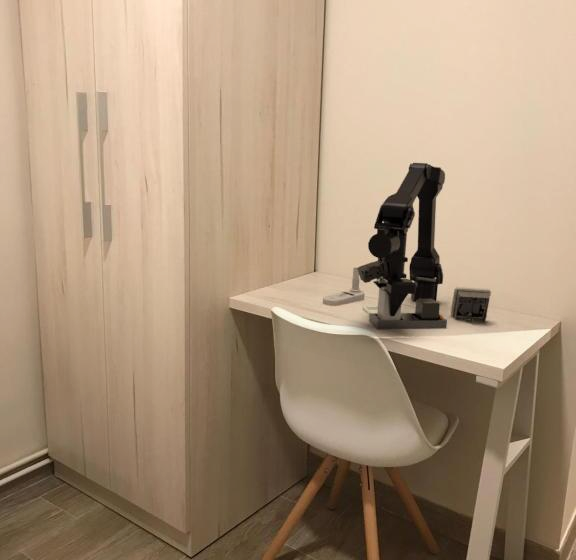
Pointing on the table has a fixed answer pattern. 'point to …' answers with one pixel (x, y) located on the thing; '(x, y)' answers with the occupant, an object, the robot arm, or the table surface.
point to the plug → (385, 307)
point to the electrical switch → (470, 304)
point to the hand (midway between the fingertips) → (389, 313)
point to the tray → (370, 309)
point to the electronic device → (346, 293)
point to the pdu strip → (414, 317)
